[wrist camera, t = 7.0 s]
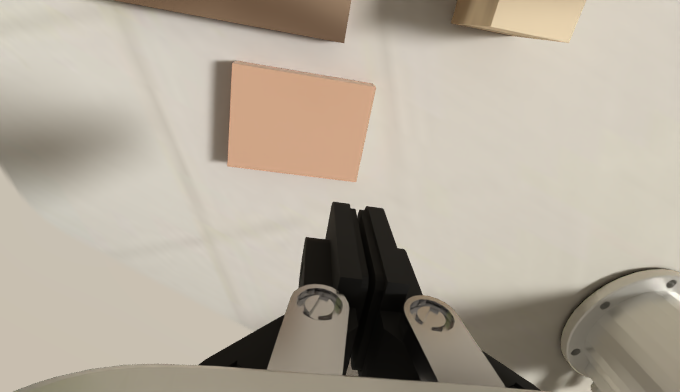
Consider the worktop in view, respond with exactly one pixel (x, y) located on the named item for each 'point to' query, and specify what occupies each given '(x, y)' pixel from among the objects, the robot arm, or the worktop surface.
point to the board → (269, 14)
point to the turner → (521, 17)
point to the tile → (297, 122)
